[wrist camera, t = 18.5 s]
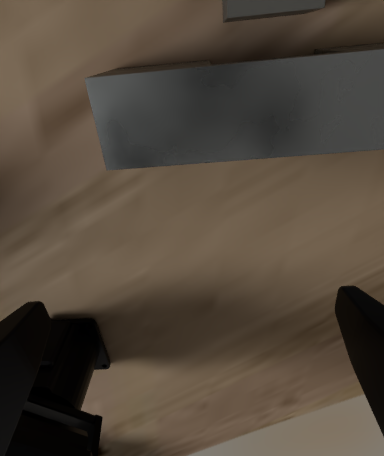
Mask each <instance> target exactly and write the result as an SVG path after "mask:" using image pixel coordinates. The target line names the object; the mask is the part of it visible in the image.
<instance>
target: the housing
mask: <svg viewBox="0 0 384 456" xmlns="http://www.w3.org/2000/svg"><path fill="white" fill-rule="evenodd" d="M85 82H86V87H87V91H88V95H89V99H90V103H91V107H92V111H93V115H94V120H95V124H96V128H97V132H98V136H99V140H100V144H101V149H102V153H103V157H104V161H105V165H106V169H107V170H118V169H131V168H144V167H157V166H171V165H184V164H197V163H210V162H223V161H237V160H250V159H263V158H276V157H289V156H302V155H316V154H329V153H342V152H355V151H368V150H381V149H384V43H376V44H366V45H356V46H345V47H335V48H325V49H315V50H314V55H305V56H294V57H284V58H274V59H264V60H253V61H243V62H233V63H223V64H212V65H211V63H210V61H209V60H204V61H193V62H183V63H173V64H163V65H153V66H143V67H133V68H123V69H113V70H110V71H106V72H103V73H100V74H97V75H93V76H90V77H87V78H85Z"/></svg>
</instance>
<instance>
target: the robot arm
mask: <svg viewBox="0 0 384 456" xmlns="http://www.w3.org/2000/svg"><path fill="white" fill-rule="evenodd" d="M335 314H336V317H337V321H338V324H339V327H340V330H341V333H342V336H343V339H344V343H345V346H346V349H347V352H348V355H349V358H350V361H351V364H352V366H353V369H354V371H355V373H356V376H357V378H358V380H359V382H360V385H361V387H362V389H363V391H364V394H365V396H366V398H367V400H368V402H369V405H370V407H371V409H372V411H373V414H374V416H375V418H376V420H377V423H378V425H379V427H380V429H381V432H382V434H383V436H384V305H383V304H381V303H380V302H378V301H377V300H375V299H374V298H372V297H371V296H369V295H368V294H367V293H365V292H364V291H362V290H361V289H359V288H358V287H356V286H341V287H340V288H339V289H338V293H337V298H336V303H335ZM110 364H111V362H110V359H109V356H108V354H107V351H106V348H105V345H104V342H103V339H102V337H101V334H100V331H99V328H98V325H97V323H96V321H95V320H94V319H68V320H51V319H50V317H49V314H48V312H47V310H46V308H45V306H44V304H43V303H42V302H40V301H35V302H27V303H26V304H24V305H23V306H21V307H20V308H19V309H17V310H16V311H14V312H13V313H12V314H10V315H9V316H7V317H6V318H5V319H3V320H2V321H0V456H97V455H98V447H99V440H100V432H101V425H102V416H99V415H92V414H89V413H86V412H84V411H81V408H82V405H83V401H84V398H85V395H86V392H87V389H88V386H89V383H90V380H91V377H92V374H93V371H94V370H97V369H108V368H109V367H110Z"/></svg>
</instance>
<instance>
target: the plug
mask: <svg viewBox="0 0 384 456" xmlns="http://www.w3.org/2000/svg"><path fill="white" fill-rule="evenodd" d="M222 1H223V22H232V21H241V20H250V19H260V18H269V17H278V16H288V15H297V14H305V13H308V12H311V11H315V10H318V9H322V8H324V7H325V0H222Z"/></svg>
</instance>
